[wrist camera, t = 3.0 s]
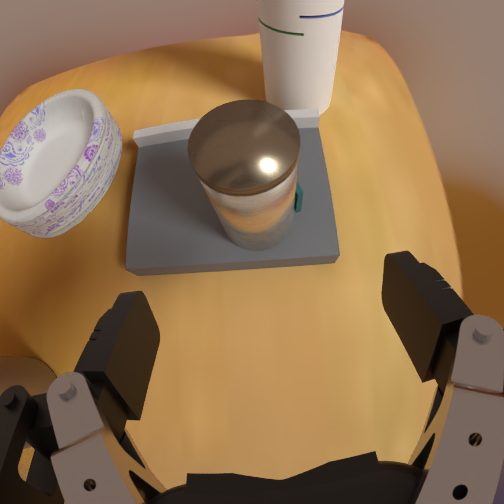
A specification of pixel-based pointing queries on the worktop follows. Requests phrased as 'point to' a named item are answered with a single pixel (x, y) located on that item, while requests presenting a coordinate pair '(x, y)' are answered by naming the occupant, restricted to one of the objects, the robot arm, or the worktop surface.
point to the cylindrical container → (299, 51)
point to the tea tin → (249, 170)
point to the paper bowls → (58, 163)
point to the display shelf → (205, 218)
